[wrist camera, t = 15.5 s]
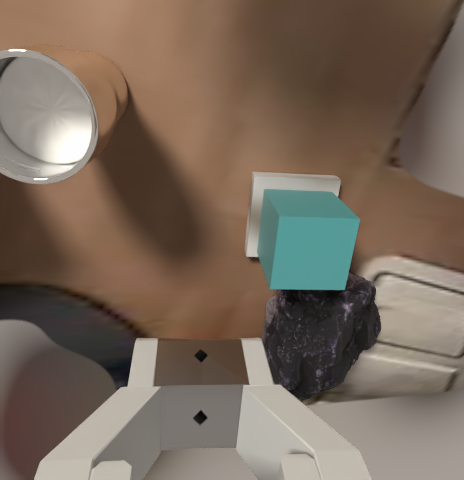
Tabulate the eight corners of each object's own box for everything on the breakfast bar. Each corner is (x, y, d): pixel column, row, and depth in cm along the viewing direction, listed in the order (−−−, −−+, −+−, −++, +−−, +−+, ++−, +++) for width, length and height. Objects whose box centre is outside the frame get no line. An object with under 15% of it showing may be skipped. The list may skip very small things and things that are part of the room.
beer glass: (150, 83, 35) (129, 107, 21) (105, 151, 36) (58, 213, 23) (73, 24, 32) (-6, 8, 19) (29, 100, 34) (-72, 134, 21)
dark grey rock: (390, 266, 45) (436, 310, 36) (357, 370, 50) (391, 435, 40) (269, 248, 44) (284, 289, 35) (246, 357, 48) (254, 420, 39)
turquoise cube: (263, 188, 37) (279, 216, 31) (332, 191, 37) (360, 219, 31) (256, 252, 39) (270, 289, 33) (320, 253, 40) (344, 290, 34)
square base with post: (252, 171, 38) (268, 202, 31) (335, 175, 39) (372, 206, 32) (244, 249, 42) (258, 295, 34) (321, 251, 43) (352, 296, 35)
